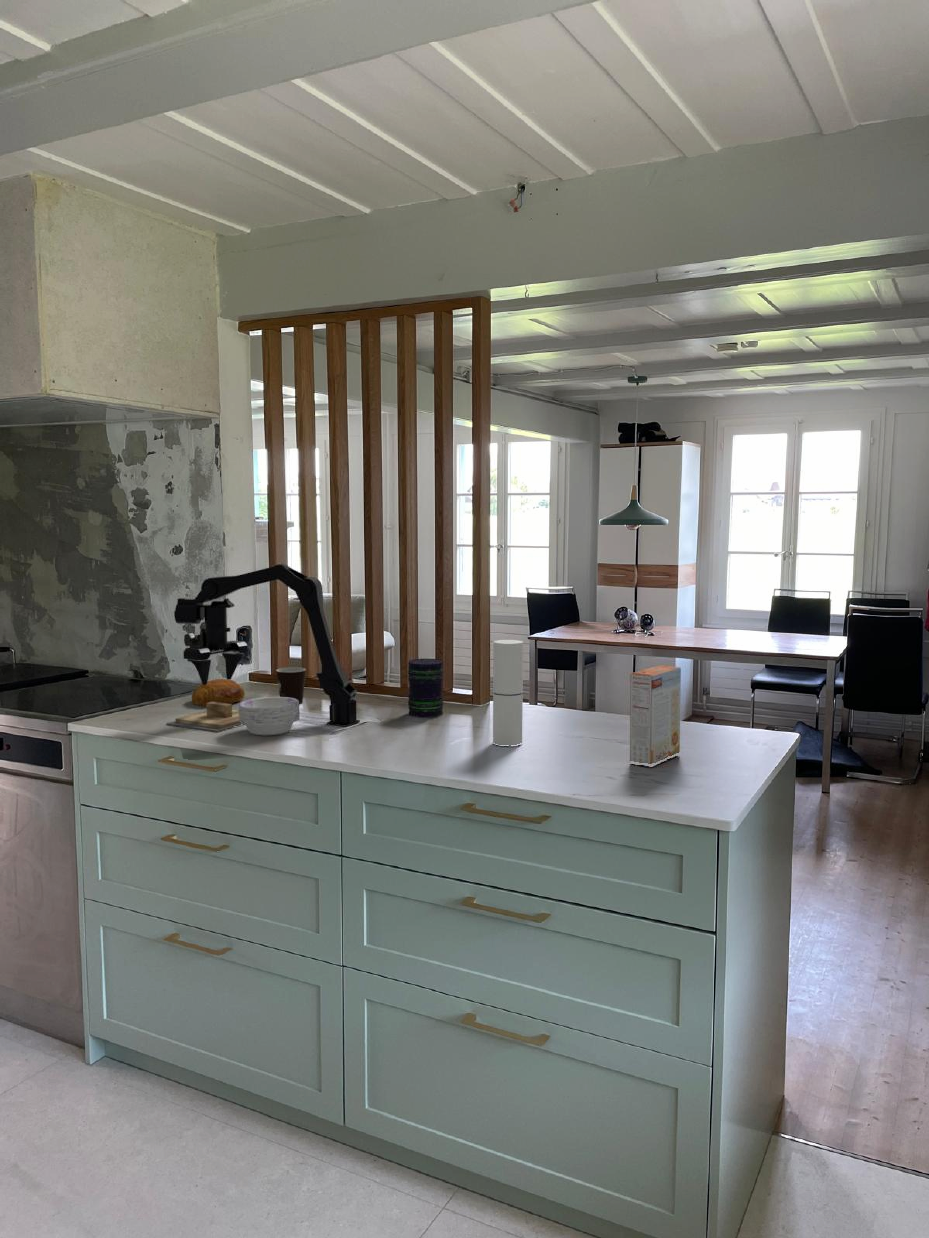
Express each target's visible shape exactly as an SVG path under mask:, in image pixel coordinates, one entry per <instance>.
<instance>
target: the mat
mask: <svg viewBox="0 0 929 1238" xmlns="http://www.w3.org/2000/svg"><path fill="white" fill-rule="evenodd" d="M165 725H167V726H172V727H178V726H182V727H181V728H185V727H188V728H187V729H192V728H193V730H199V729H202V730H201V731H206V732H214V733H221V732H223V730H224V731H227V730H226V729H228V730H231V729H233V728H232V727H234V726H238V727H240V726H239V725H241V723H240V724H237V725H233V726H230V727H226V728H222V729H219V728H212V727H205V726H198V725H191V724H184V723H177V722H176V720H174V721H169V722H166V724H165ZM230 728H231V729H230Z"/></svg>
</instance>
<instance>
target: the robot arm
mask: <svg viewBox="0 0 929 1238" xmlns="http://www.w3.org/2000/svg"><path fill="white" fill-rule="evenodd" d="M274 581H280V582H281V583H283V584H284V585H285V586H286V587H288V588H289V589H291V590H292V591H293V592H295V595H296V597H297V599H298V600H299V603H300V605H301V606H302V608H303V609H304V611H305V612H306V614H307V617H308V621H309V625H310V628H311V632H312V634H313V638H314V642H315V646H316V649H317V652H318V656H319V660H320V664H321V670H319V671H318V672H317V673H316V677H317V679H318V681H319V689H322V690H323V692H324V694H325V695H327V696H328V697H329V700H330V704H329V705H328V706H329V711H328V712H329V720H328V721H327V723H326V724H327V725H332V726H333V725H335V726H340V727H341V726H342V727H349V726H352V725H355V724H358V723H360V722H361V720H360V719H357V700H356V699H355V698H356V695H357V692H358V691H357V689H356V687H354V686H353V685H352V684H351V683H350V682H349V678H348V675H347V674H346V671H345V670H344V667H343V666H342V665H341V662H340V661H339V660H338V658H337V653H336V651H335V647H334V643H333V641H332V636H331V632H330V629H329V626H328V622H327V618H326V616H325V612H324V593H323V585H322V582H321V580H319V579H318V578H317V577H313V576H307V575H306V574H304V573H302V572H300V571H297V570H296V569H294V568H292V567H290V566H289V565H288V564H286V563H280V564H278V563H277V564H275V565H274V566H270V567H267V568H266V567H265V568H262V569H258V570H255V571H250V572H246V573H242V574H238V575H224V576H222V575H221V576H220V575H219V576H215V577H208V578H205V579H204V580H203V582H202V584H201V588H200V591H199V592H198V594H197V595H196V596H195V598H185V597H179V598H177V601H176V605H175V609H174V612H173V618H174V621H175V622H176V624H180V625H181V624H185V625H187V624H188V625H199V624H201V622H202V621H203V620H204V627H201V629H200V633H199V634H194V633H193V632H192V633H190V632H189V633H186V634H184V636H183V637H184V639H183V642H184V645H185V647H186V648H185V649H184V650H183V652H182V653H183V659H185V660H187V662H190V663H191V664H193V666H194V667H195V669H196V671H197V673H198V676H199V679H200V681H201V684H203V685H206V684H207V682H208V681H209V676H210V671H211V670H210V669H211V663H212V659H210V657H211V656H212V655H216V654H221V655H222V657H223V658H224V660H225V673H226V674H225V675H226V680H232V678H233V676H234V673H235V671H236V669H237V667H238V665H239V663H240V662H241V660H242V658H243V657H244V656H245V653H247V652H248V648H249V647H248V644H247V643H246V641H242V640H241V641H239V640H228V633H229V632H231V627H228V623H227V621H228V620H227V619H228V618H227V613H228V611H227V609H230V608H233V607H235V603H233V602H232V601H231V600H230V598H229V597H227V598H224V597H226V596H229V595H231V594H232V593H235V592H236V591H239V590H241V589H245V588H249V587H252V586H258V585H260V584H265V583H269V582H274ZM221 598H224V599H223V600H217V599H221ZM207 602H211V603H210V604H204V603H207Z"/></svg>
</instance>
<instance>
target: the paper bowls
mask: <svg viewBox="0 0 929 1238" xmlns="http://www.w3.org/2000/svg"><path fill="white" fill-rule="evenodd" d="M238 711H239V720H240V723H241V724H244V725H243V726H246V729H247V730H248V732H249V733H251V734H252V735H256V736H278V735H282V734H287V732H289V731H290V730H291V729H292V727H293V724H294V723H295V722H298V721H299V720H300V717H301V715H300V713H301V711H300V705H299V701H298V700H297V699H294V698H289V697H280V696H267V697H259V698H258V697H257V698H251V699H247V700H243V701H240V703H238Z"/></svg>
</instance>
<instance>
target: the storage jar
mask: <svg viewBox="0 0 929 1238" xmlns="http://www.w3.org/2000/svg"><path fill="white" fill-rule="evenodd" d="M407 663H408V668H407V675H408V676H407V679H408V681H407V682H409V683H408V684H409V688H408V689H409V692H408V701H407V703H408V704H407V706H408V716H410V717H414V718H421V719H423V718H424V719H426V718H428V719H429V718H437V717H441V716H443V714H444V711H443V709H444V695H443V681H444V666H443V665H444V660H442V659H438V658H437V659H436V658H414V659H410V660H408V662H407Z"/></svg>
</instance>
